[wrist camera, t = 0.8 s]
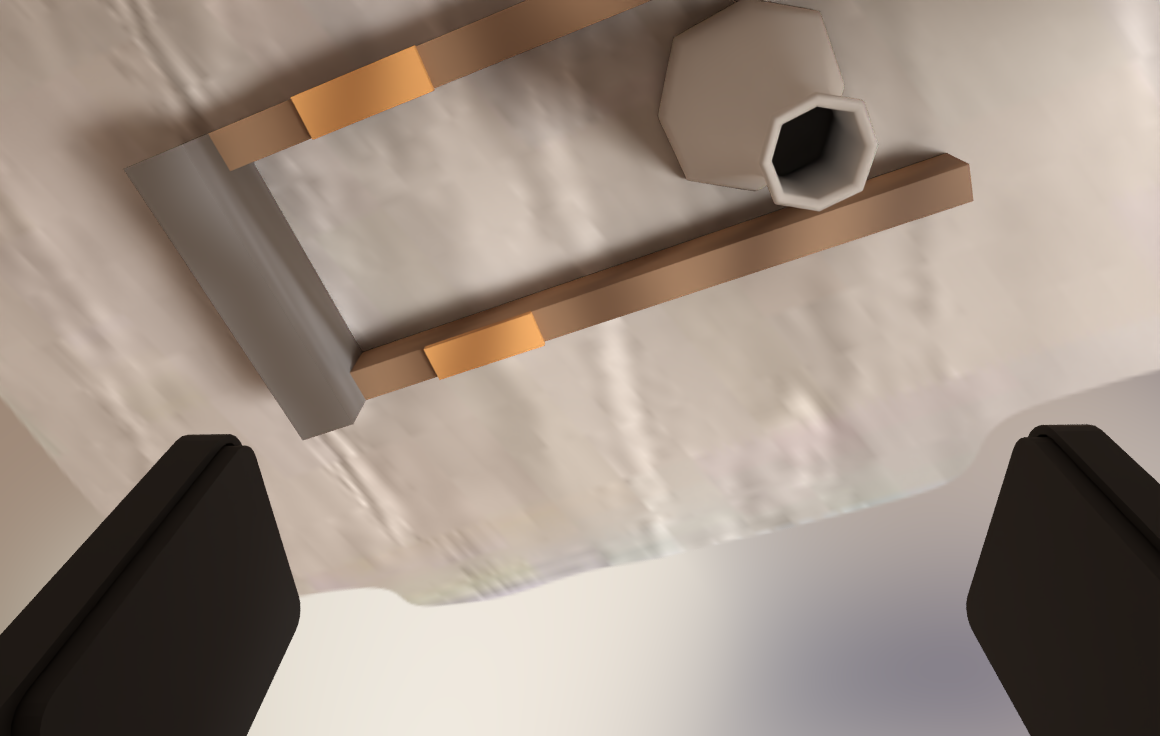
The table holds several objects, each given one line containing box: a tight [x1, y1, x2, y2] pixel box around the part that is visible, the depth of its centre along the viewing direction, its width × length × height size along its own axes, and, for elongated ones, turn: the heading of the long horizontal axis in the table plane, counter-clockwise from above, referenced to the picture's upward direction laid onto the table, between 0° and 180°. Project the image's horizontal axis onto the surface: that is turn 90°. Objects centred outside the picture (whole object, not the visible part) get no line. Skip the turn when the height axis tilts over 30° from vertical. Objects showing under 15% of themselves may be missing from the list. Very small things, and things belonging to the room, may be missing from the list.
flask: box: [658, 0, 878, 211], centre depth 24 cm, size 7×7×10 cm
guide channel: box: [124, 0, 973, 440], centre depth 28 cm, size 29×13×4 cm, turn 110°
